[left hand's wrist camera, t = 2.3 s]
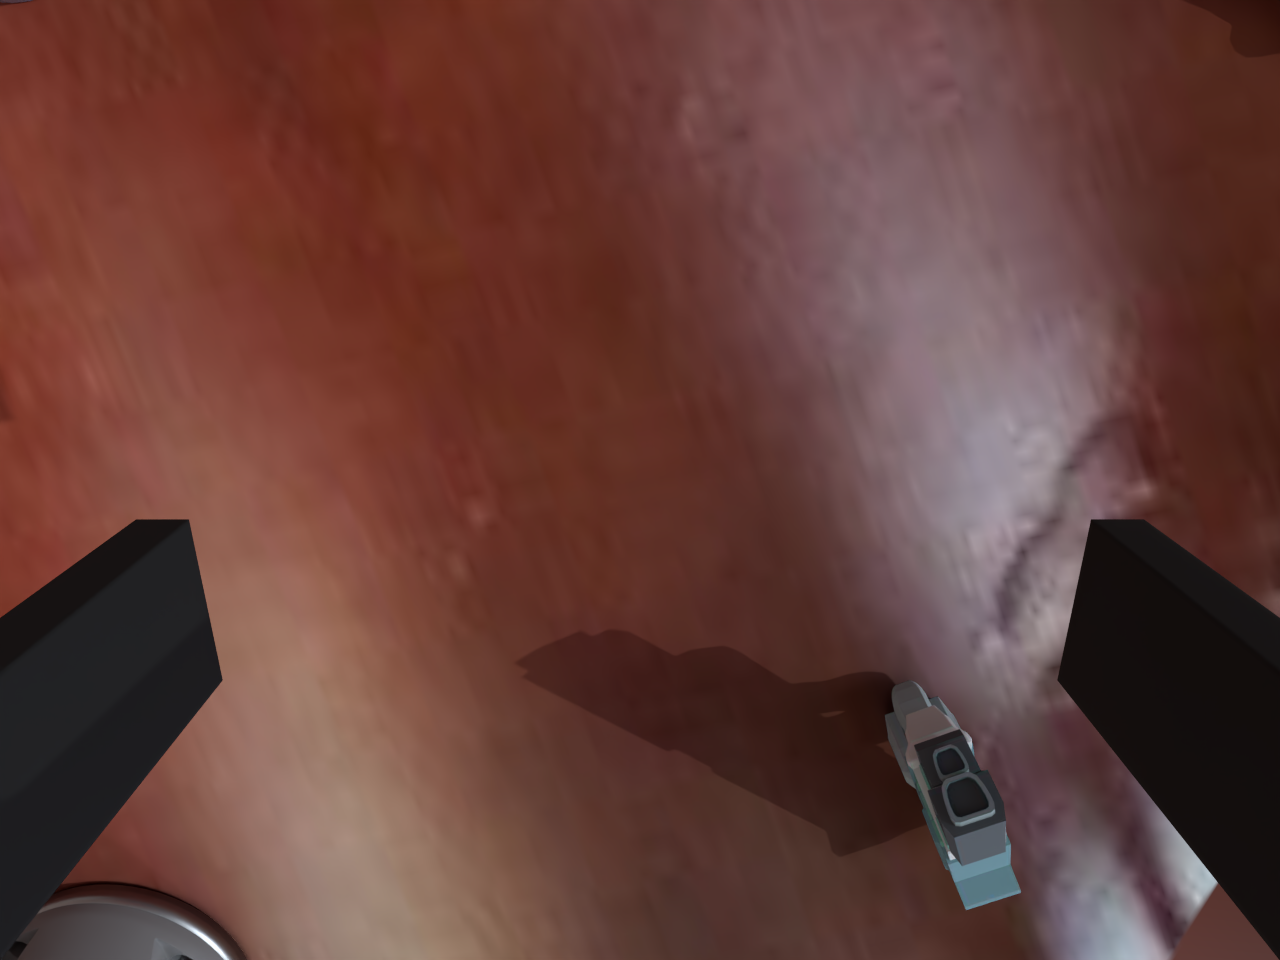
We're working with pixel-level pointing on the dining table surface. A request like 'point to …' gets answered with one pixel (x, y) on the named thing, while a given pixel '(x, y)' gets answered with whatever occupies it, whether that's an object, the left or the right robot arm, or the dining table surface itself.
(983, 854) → the toy gun
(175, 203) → the dining table surface
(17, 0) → the jar
